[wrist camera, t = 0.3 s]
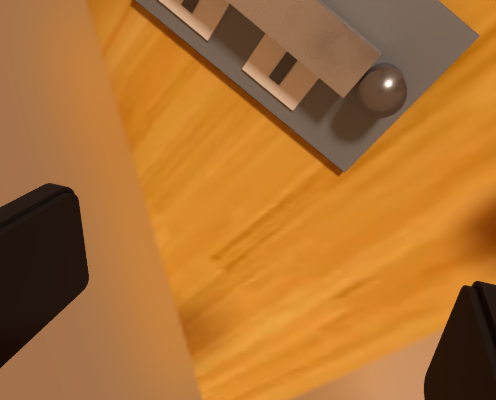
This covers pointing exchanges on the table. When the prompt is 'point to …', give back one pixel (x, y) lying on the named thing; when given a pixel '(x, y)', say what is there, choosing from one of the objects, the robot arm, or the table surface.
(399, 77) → the swing bar
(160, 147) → the table surface
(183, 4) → the label board
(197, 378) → the table surface
